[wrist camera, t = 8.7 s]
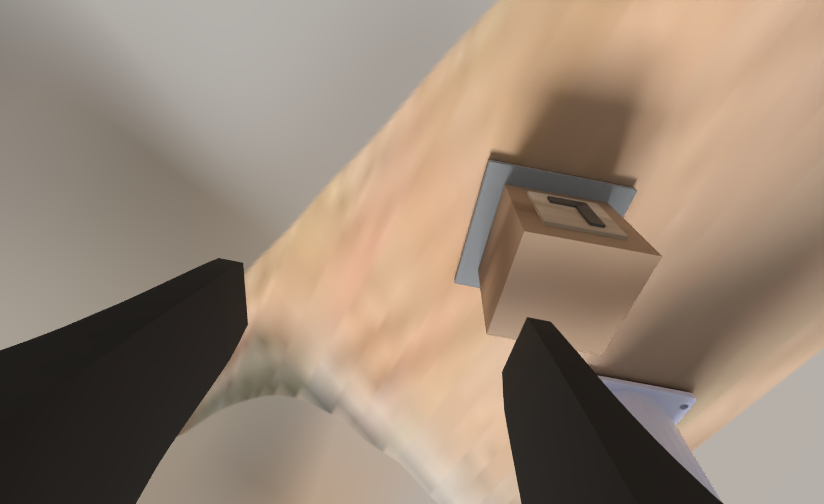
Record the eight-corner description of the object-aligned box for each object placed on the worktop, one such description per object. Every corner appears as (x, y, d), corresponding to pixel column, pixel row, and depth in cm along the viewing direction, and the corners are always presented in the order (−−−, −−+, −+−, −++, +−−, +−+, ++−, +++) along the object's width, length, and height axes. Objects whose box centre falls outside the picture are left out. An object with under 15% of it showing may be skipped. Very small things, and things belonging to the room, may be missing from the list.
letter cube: (567, 286, 20) (601, 355, 15) (477, 270, 20) (486, 334, 15) (610, 197, 17) (665, 250, 13) (506, 178, 17) (526, 224, 13)
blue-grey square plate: (574, 302, 21) (576, 306, 20) (454, 279, 20) (454, 283, 20) (633, 187, 17) (637, 190, 17) (488, 159, 17) (489, 161, 17)
